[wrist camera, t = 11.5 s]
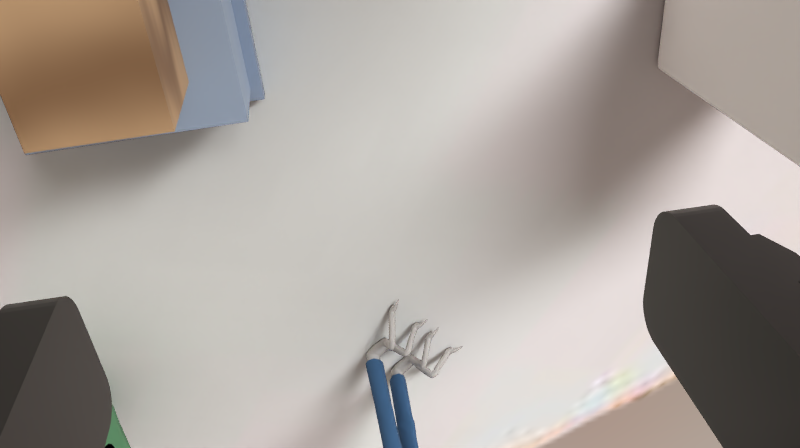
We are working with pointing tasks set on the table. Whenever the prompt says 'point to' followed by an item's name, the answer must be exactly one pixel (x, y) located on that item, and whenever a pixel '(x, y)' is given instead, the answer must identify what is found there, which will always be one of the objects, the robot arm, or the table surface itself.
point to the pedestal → (213, 64)
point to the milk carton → (739, 62)
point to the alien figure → (398, 385)
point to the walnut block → (89, 70)
